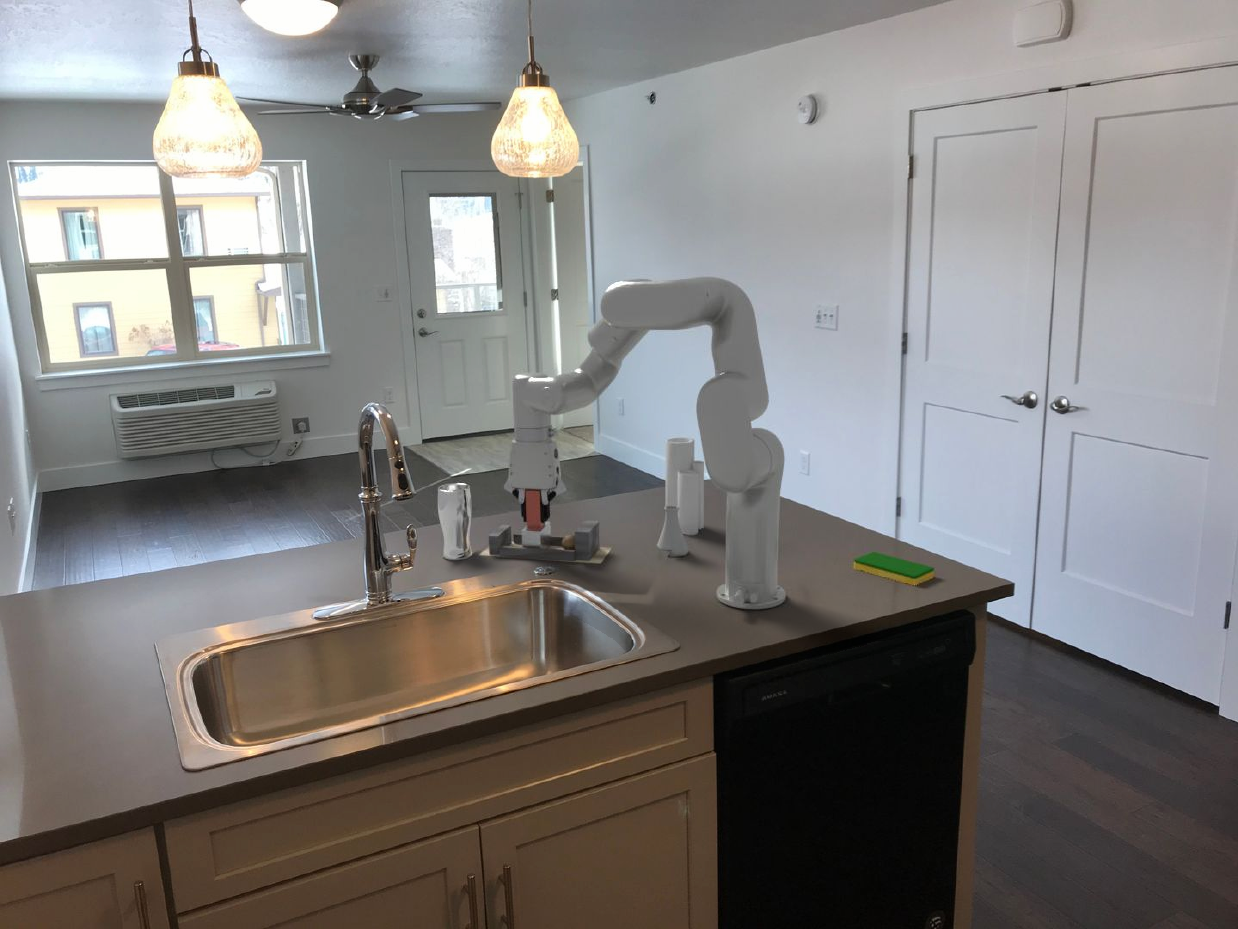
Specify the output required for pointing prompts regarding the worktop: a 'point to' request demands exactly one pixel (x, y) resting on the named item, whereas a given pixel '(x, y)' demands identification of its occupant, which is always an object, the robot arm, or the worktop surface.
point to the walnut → (569, 542)
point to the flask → (672, 533)
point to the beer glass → (455, 520)
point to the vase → (685, 483)
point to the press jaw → (535, 523)
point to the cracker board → (584, 546)
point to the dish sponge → (894, 568)
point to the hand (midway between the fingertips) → (535, 520)
